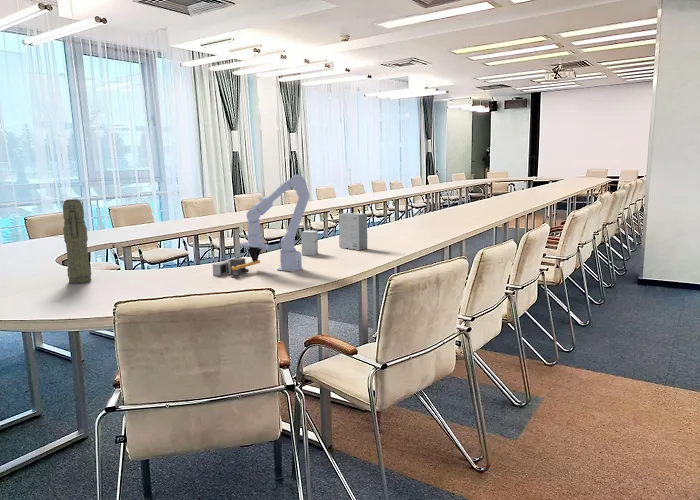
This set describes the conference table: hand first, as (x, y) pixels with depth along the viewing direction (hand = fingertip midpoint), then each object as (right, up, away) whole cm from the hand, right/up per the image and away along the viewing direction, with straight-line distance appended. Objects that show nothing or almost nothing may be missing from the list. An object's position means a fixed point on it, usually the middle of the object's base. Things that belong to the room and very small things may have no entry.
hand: (255, 263), depth 245 cm
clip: (-3, -1, -8) cm, 8 cm away
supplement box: (+22, +4, +39) cm, 45 cm away
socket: (-12, -4, -3) cm, 13 cm away
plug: (-6, -4, -5) cm, 9 cm away
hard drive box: (+46, +7, +56) cm, 73 cm away
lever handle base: (-6, -6, -13) cm, 16 cm away
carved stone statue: (-72, -7, -19) cm, 74 cm away
